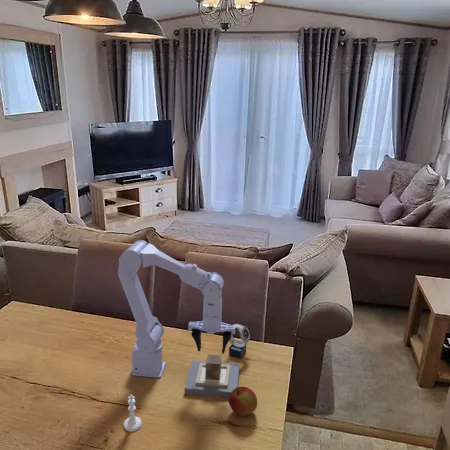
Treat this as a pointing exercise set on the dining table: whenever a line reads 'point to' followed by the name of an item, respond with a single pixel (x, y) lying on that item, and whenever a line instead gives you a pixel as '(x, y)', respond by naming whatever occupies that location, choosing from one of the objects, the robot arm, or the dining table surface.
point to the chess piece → (132, 416)
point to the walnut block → (213, 367)
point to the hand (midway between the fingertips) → (211, 350)
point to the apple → (243, 401)
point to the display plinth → (212, 387)
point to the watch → (239, 342)
